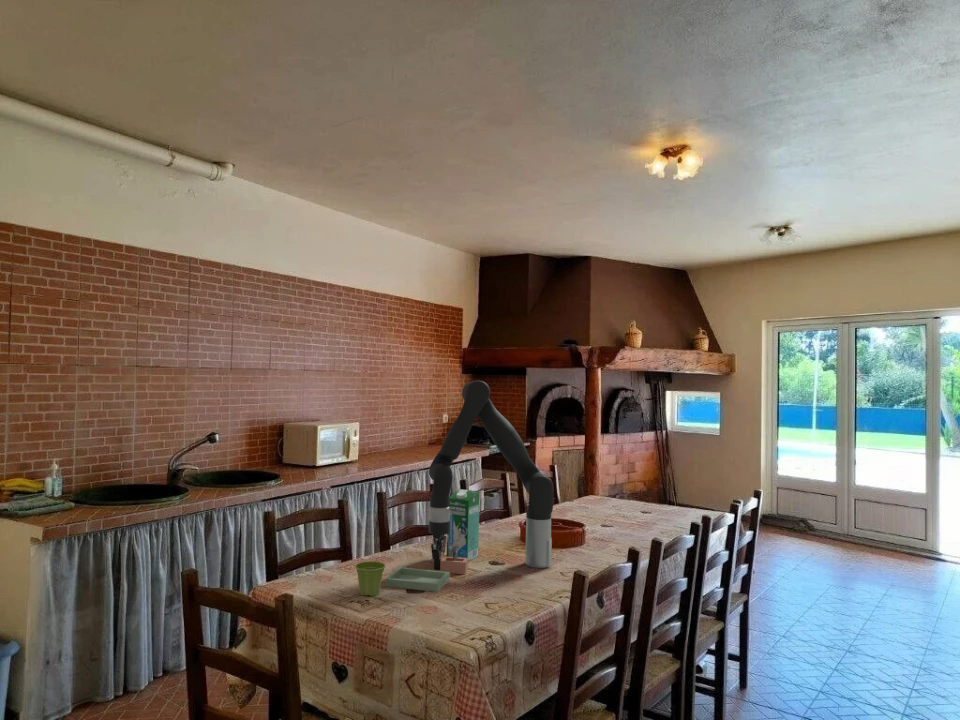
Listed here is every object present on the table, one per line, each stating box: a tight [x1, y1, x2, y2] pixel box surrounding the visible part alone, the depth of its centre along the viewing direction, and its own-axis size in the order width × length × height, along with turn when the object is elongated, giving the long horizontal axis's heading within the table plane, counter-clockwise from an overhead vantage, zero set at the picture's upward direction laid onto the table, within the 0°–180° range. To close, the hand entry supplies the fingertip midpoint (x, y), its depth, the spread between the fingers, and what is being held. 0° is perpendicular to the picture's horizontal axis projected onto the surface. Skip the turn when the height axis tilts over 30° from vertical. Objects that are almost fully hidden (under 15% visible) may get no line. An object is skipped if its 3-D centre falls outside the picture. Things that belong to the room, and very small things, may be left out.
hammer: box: [452, 546, 459, 561], centre depth 219 cm, size 2×5×8 cm, turn 166°
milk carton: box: [445, 488, 481, 562], centre depth 236 cm, size 9×9×25 cm
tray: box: [384, 566, 451, 593], centre depth 205 cm, size 18×13×2 cm
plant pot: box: [354, 560, 387, 597], centre depth 194 cm, size 9×9×9 cm
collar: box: [431, 552, 469, 575], centre depth 219 cm, size 12×6×6 cm, turn 80°
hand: (438, 567), depth 219 cm, fingers closed on collar, 3 cm apart
